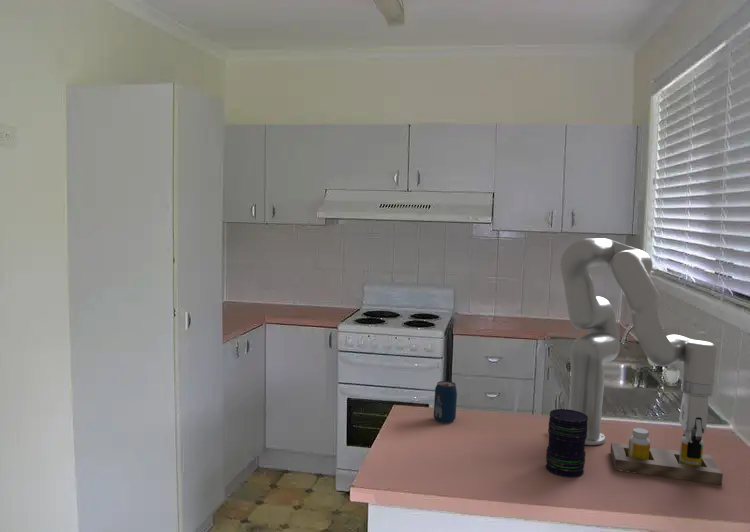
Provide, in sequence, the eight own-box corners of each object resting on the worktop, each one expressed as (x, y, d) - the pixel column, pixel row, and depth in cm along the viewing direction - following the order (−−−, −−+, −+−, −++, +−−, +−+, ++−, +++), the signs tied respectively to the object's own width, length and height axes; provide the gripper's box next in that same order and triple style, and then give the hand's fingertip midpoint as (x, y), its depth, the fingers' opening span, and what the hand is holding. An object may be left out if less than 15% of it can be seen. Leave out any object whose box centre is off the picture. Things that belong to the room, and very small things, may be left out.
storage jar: (573, 461, 182) (577, 408, 180) (591, 477, 172) (595, 421, 171) (539, 462, 180) (543, 409, 179) (554, 478, 171) (559, 421, 169)
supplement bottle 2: (703, 470, 176) (707, 435, 175) (681, 468, 177) (685, 432, 176) (698, 462, 181) (701, 428, 180) (676, 460, 182) (680, 426, 181)
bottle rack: (614, 470, 177) (615, 459, 177) (610, 452, 190) (611, 442, 190) (721, 484, 171) (722, 473, 171) (709, 465, 184) (710, 455, 183)
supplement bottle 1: (622, 461, 184) (625, 427, 183) (638, 459, 186) (641, 426, 185) (636, 469, 179) (639, 434, 178) (652, 467, 181) (655, 433, 180)
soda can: (456, 418, 214) (458, 381, 212) (454, 425, 207) (456, 387, 206) (434, 415, 215) (437, 379, 214) (431, 422, 208) (433, 385, 207)
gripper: (675, 377, 186) (669, 440, 188) (688, 394, 169) (681, 463, 171) (705, 380, 184) (698, 444, 186) (720, 398, 167) (713, 467, 169)
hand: (690, 452), depth 178 cm, fingers closed on supplement bottle 2, 5 cm apart
